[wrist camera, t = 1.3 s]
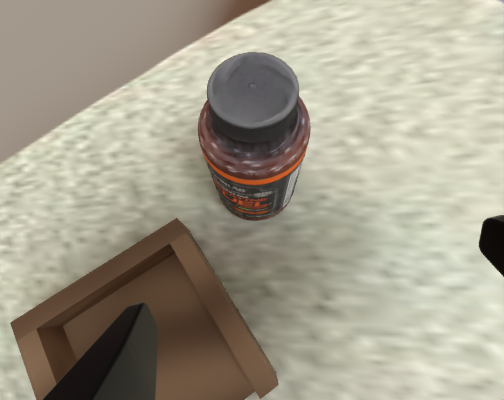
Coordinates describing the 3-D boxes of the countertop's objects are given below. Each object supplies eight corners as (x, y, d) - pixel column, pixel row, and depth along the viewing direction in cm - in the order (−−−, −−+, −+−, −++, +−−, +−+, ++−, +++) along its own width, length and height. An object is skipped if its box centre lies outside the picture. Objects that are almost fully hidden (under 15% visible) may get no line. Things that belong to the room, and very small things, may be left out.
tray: (275, 372, 18) (278, 384, 16) (114, 498, 16) (84, 538, 14) (188, 229, 22) (177, 218, 19) (45, 320, 20) (10, 322, 17)
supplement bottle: (209, 213, 22) (160, 130, 11) (229, 147, 24) (203, 23, 13) (285, 231, 21) (308, 160, 11) (300, 161, 23) (332, 43, 13)
